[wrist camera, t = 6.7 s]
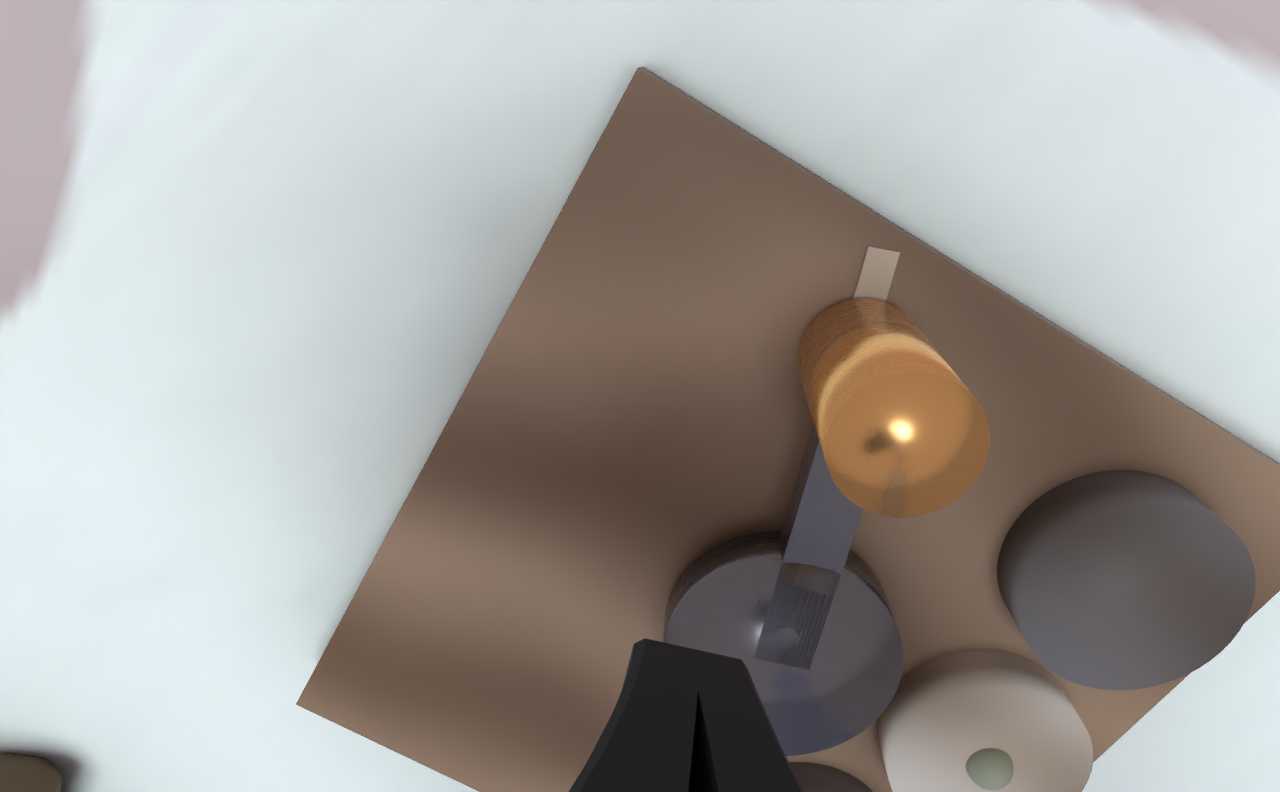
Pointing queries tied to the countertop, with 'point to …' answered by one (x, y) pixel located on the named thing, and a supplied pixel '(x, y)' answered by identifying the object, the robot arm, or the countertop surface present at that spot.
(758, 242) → the base
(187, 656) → the countertop surface
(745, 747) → the robot arm
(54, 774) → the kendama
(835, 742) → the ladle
